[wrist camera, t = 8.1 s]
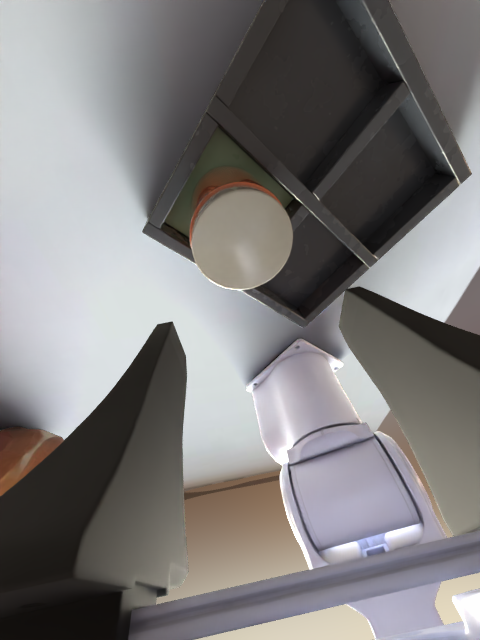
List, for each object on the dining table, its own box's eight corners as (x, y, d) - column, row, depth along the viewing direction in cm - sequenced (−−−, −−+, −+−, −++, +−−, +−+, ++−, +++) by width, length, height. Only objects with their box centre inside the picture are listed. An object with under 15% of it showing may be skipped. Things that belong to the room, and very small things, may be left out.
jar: (235, 257, 19) (250, 306, 14) (176, 218, 16) (168, 260, 11) (279, 199, 17) (316, 233, 12) (218, 145, 14) (232, 157, 9)
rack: (296, 314, 24) (304, 328, 22) (146, 221, 17) (141, 232, 15) (445, 169, 18) (472, 174, 16) (307, -84, 10) (330, -124, 9)
